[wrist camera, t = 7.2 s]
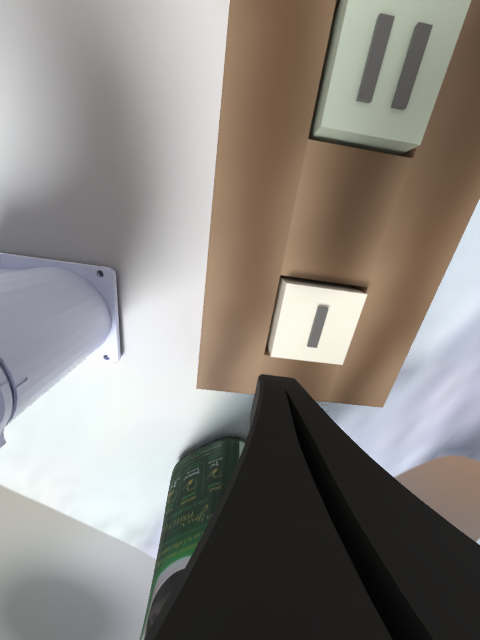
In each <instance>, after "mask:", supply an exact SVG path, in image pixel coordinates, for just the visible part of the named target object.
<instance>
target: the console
mask: <svg viewBox="0 0 480 640" xmlns="http://www.w3.org/2000/svg"><path fill="white" fill-rule="evenodd" d="M340 1H341V0H230V6H229V17H228V29H227V41H226V52H225V64H224V75H223V87H222V98H221V110H220V121H219V133H218V145H217V156H216V168H215V179H214V191H213V202H212V214H211V225H210V237H209V249H208V260H207V272H206V283H205V295H204V306H203V318H202V330H201V341H200V353H199V364H198V376H197V387H196V389H206V390H216V391H226V392H235V393H245V394H255V390H256V385H257V380H258V376H260V375H261V374H266V375H274V376H282V377H290V378H295V379H296V380H297V381H298V383H299V384H300V385H301V386H302V387H303V388H304V389H305V390H306V391H307V393H308V394H309V395H310V396H311V397H312V398H313V399H314V400H315V401H324V402H334V403H344V404H353V405H363V406H373V407H383V406H384V404H385V401H386V399H387V397H388V395H389V393H390V391H391V389H392V386H393V384H394V382H395V380H396V378H397V376H398V373H399V371H400V369H401V367H402V365H403V363H404V360H405V358H406V356H407V354H408V352H409V350H410V348H411V345H412V343H413V341H414V339H415V337H416V335H417V332H418V330H419V328H420V326H421V324H422V322H423V320H424V317H425V315H426V313H427V311H428V309H429V307H430V304H431V302H432V300H433V298H434V296H435V294H436V291H437V289H438V287H439V285H440V283H441V281H442V279H443V276H444V274H445V272H446V270H447V268H448V266H449V263H450V261H451V259H452V257H453V255H454V253H455V250H456V248H457V246H458V244H459V242H460V240H461V238H462V235H463V233H464V231H465V229H466V227H467V225H468V222H469V220H470V218H471V216H472V214H473V212H474V210H475V207H476V205H477V203H478V201H479V199H480V0H471V3H470V6H469V8H468V11H467V14H466V17H465V20H464V23H463V25H462V28H461V31H460V34H459V37H458V40H457V42H456V45H455V48H454V51H453V54H452V57H451V59H450V62H449V65H448V68H447V71H446V74H445V76H444V79H443V82H442V85H441V88H440V91H439V93H438V96H437V99H436V102H435V105H434V108H433V110H432V113H431V116H430V119H429V122H428V125H427V127H426V130H425V133H424V136H423V139H422V142H421V144H420V145H419V146H417V147H415V148H413V149H411V150H409V151H407V152H405V153H403V154H400V155H398V156H397V155H392V154H387V153H381V152H376V151H370V150H365V149H359V148H354V147H349V146H343V145H338V144H332V143H327V142H321V141H316V140H310V139H308V137H309V132H310V127H311V122H312V117H313V113H314V108H315V103H316V98H317V93H318V88H319V83H320V78H321V73H322V68H323V64H324V59H325V54H326V49H327V44H328V39H329V34H330V29H331V24H332V19H333V16H334V14H335V12H336V10H337V7H338V5H339V3H340ZM280 275H283V276H291V277H298V278H305V279H312V280H319V281H326V282H334V283H341V284H347V285H349V286H351V287H353V288H355V289H357V290H359V291H362V292H364V293H366V294H367V297H366V300H365V303H364V306H363V309H362V311H361V314H360V317H359V320H358V323H357V326H356V328H355V331H354V334H353V337H352V340H351V343H350V345H349V348H348V351H347V354H346V357H345V360H344V362H343V365H338V364H329V363H321V362H312V361H303V360H294V359H286V358H277V357H271V356H270V353H269V349H268V346H267V338H268V333H269V328H270V323H271V318H272V314H273V309H274V304H275V299H276V294H277V289H278V284H279V279H280Z"/></svg>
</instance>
